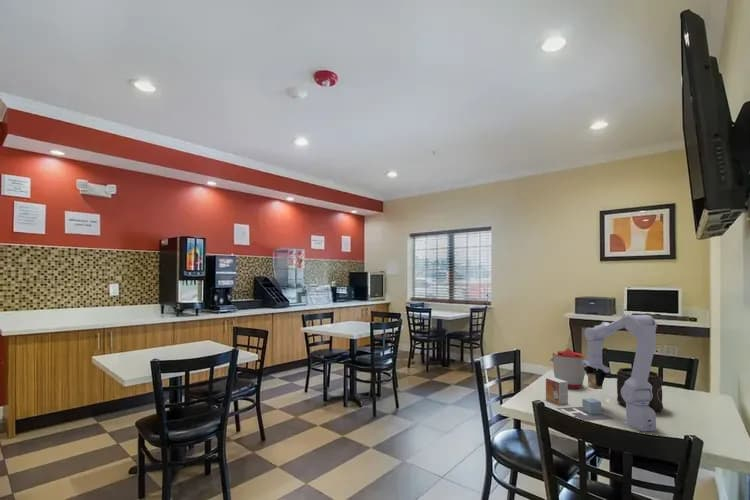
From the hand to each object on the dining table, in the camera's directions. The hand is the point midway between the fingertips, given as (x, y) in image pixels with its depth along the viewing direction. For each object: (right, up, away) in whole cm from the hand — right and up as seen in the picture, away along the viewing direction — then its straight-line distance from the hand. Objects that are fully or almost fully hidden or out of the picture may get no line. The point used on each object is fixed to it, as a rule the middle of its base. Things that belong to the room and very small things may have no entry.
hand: (595, 384), depth 173 cm
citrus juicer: (+4, -12, +33) cm, 35 cm away
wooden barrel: (+20, -11, 0) cm, 23 cm away
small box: (-15, -10, +5) cm, 19 cm away
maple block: (0, -1, 0) cm, 1 cm away
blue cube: (-7, -9, -9) cm, 14 cm away
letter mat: (-11, -9, -10) cm, 18 cm away
